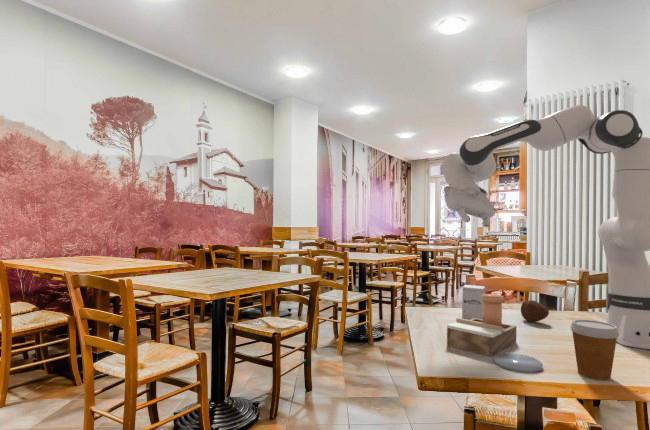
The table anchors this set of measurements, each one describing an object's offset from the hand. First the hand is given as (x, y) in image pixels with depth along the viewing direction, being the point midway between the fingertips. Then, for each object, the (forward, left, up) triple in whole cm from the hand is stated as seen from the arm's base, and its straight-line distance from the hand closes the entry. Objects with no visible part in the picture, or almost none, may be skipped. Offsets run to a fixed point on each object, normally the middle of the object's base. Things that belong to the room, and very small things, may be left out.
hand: (477, 223), depth 128 cm
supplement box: (+7, -13, -36) cm, 39 cm away
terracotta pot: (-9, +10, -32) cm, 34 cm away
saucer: (-20, +23, -36) cm, 47 cm away
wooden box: (-7, +13, -36) cm, 39 cm away
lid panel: (-7, +19, -31) cm, 37 cm away
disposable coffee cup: (-35, +17, -36) cm, 53 cm away
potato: (-9, -28, -36) cm, 46 cm away
